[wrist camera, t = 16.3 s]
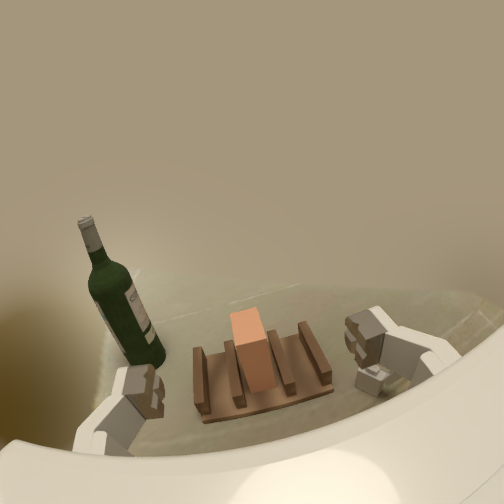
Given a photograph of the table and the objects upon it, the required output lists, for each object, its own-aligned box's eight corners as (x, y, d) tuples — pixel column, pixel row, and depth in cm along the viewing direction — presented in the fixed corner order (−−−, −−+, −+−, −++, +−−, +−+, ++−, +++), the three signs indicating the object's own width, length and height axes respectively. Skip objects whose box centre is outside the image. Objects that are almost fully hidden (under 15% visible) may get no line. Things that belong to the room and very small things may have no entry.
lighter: (354, 386, 36) (359, 353, 32) (360, 379, 36) (366, 345, 33) (392, 405, 30) (404, 373, 27) (398, 396, 31) (410, 363, 28)
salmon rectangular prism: (267, 356, 44) (256, 307, 39) (276, 387, 38) (266, 338, 33) (244, 362, 44) (229, 313, 39) (251, 393, 37) (235, 345, 33)
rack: (305, 335, 48) (304, 317, 46) (333, 391, 36) (334, 374, 34) (200, 360, 47) (192, 344, 45) (203, 423, 34) (194, 409, 32)
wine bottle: (173, 358, 48) (111, 209, 35) (141, 379, 44) (64, 231, 31) (155, 340, 54) (100, 207, 41) (126, 358, 49) (61, 225, 36)
